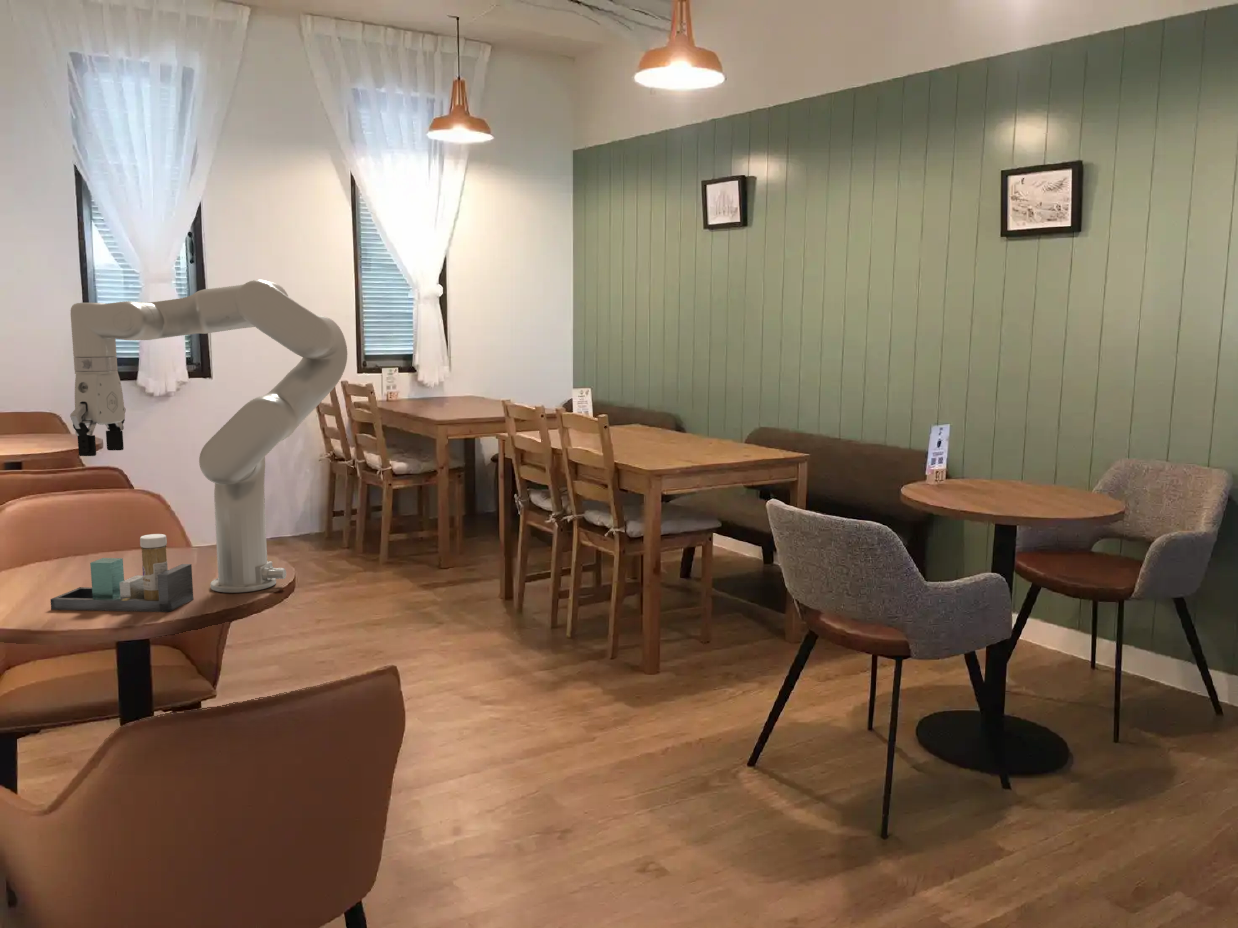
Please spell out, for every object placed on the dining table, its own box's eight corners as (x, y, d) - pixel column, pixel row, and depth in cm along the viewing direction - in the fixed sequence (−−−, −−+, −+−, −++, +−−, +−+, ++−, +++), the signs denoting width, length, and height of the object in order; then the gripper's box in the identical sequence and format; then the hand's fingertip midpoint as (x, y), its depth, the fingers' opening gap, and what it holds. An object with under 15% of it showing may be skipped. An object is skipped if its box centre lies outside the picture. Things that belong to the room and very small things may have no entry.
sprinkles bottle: (139, 605, 191) (135, 535, 189) (163, 600, 194) (159, 532, 193) (150, 609, 188) (146, 538, 186) (174, 604, 191) (170, 535, 190)
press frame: (193, 599, 195) (191, 564, 194) (169, 611, 186) (166, 574, 185) (80, 597, 197) (78, 562, 196) (51, 609, 188) (48, 572, 187)
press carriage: (148, 598, 194) (145, 557, 193) (130, 606, 188) (127, 564, 187) (108, 597, 195) (105, 556, 194) (90, 605, 189) (87, 563, 188)
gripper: (89, 367, 188) (95, 458, 191) (137, 365, 206) (143, 448, 208) (50, 367, 189) (57, 458, 191) (102, 365, 206) (107, 448, 208)
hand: (101, 453), depth 199 cm, fingers open, 9 cm apart
